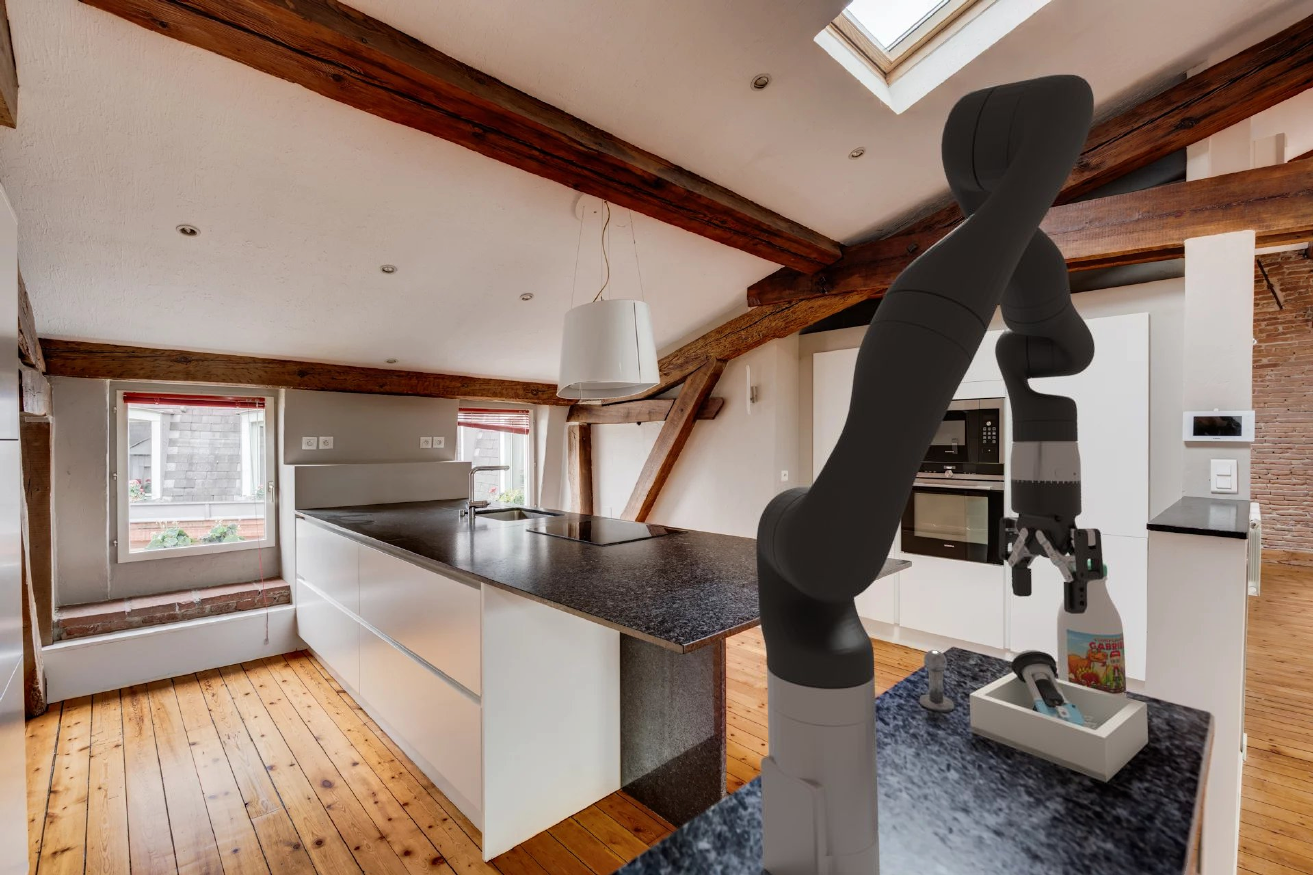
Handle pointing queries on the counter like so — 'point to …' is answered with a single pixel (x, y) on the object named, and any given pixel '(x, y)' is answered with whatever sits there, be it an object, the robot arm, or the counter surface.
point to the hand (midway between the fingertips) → (1046, 603)
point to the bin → (1062, 726)
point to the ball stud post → (936, 683)
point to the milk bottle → (1092, 642)
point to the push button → (1046, 687)
